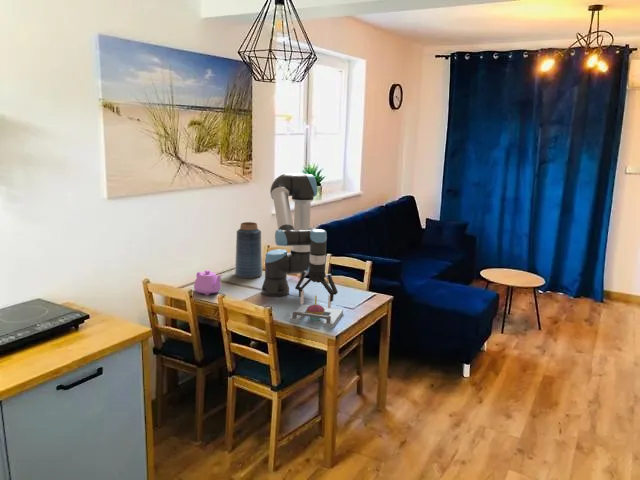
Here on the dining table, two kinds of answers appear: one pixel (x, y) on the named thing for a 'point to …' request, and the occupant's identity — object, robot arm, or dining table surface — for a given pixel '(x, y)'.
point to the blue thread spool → (248, 251)
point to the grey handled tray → (329, 315)
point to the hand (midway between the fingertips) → (315, 305)
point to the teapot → (207, 282)
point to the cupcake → (315, 310)
